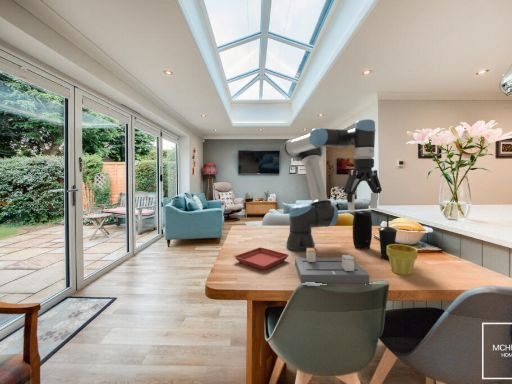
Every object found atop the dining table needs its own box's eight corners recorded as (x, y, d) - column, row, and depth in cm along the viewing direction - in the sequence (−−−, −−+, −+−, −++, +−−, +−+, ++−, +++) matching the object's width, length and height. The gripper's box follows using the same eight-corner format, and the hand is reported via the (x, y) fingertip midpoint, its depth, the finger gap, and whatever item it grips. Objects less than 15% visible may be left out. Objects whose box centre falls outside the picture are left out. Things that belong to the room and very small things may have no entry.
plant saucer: (263, 273, 94) (263, 265, 94) (233, 263, 106) (233, 255, 106) (289, 261, 107) (289, 254, 107) (260, 253, 119) (260, 247, 119)
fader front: (345, 270, 86) (345, 258, 85) (341, 266, 90) (341, 255, 90) (353, 270, 86) (354, 258, 85) (350, 266, 90) (350, 255, 89)
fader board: (300, 282, 84) (300, 274, 84) (295, 264, 102) (295, 257, 102) (369, 283, 83) (369, 274, 83) (351, 264, 101) (351, 257, 101)
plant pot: (407, 279, 86) (407, 253, 85) (380, 269, 95) (381, 246, 95) (422, 273, 91) (423, 249, 90) (396, 265, 100) (396, 242, 99)
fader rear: (308, 261, 95) (308, 250, 95) (306, 258, 99) (306, 248, 99) (315, 262, 95) (315, 251, 95) (313, 258, 99) (313, 248, 99)
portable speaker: (373, 250, 120) (373, 212, 119) (353, 249, 123) (353, 212, 122) (369, 246, 128) (370, 210, 127) (351, 245, 131) (351, 210, 130)
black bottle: (399, 261, 104) (400, 217, 103) (380, 260, 105) (381, 216, 104) (393, 256, 111) (393, 214, 110) (375, 255, 113) (376, 214, 112)
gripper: (349, 157, 89) (348, 212, 90) (392, 158, 100) (390, 208, 101) (334, 158, 95) (333, 210, 97) (376, 159, 106) (374, 206, 108)
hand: (362, 209), depth 99 cm, fingers open, 13 cm apart
